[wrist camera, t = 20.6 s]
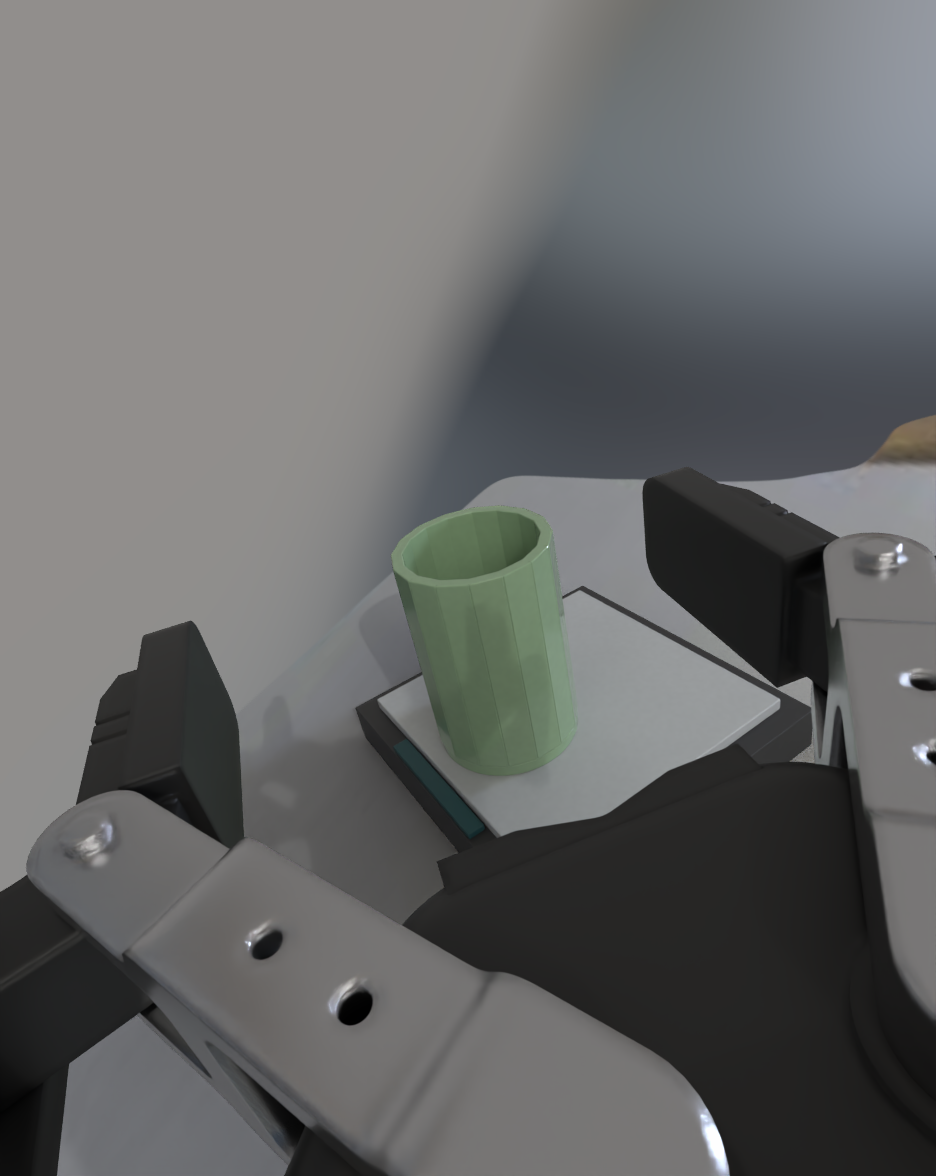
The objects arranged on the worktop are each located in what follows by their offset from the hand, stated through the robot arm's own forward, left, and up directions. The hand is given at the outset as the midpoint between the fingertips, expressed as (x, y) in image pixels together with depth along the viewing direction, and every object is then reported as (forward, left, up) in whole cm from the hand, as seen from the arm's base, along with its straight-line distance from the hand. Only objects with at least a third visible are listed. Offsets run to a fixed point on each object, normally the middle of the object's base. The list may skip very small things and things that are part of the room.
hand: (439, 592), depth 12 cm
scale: (+11, +13, -20) cm, 26 cm away
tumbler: (+8, +13, -17) cm, 23 cm away
